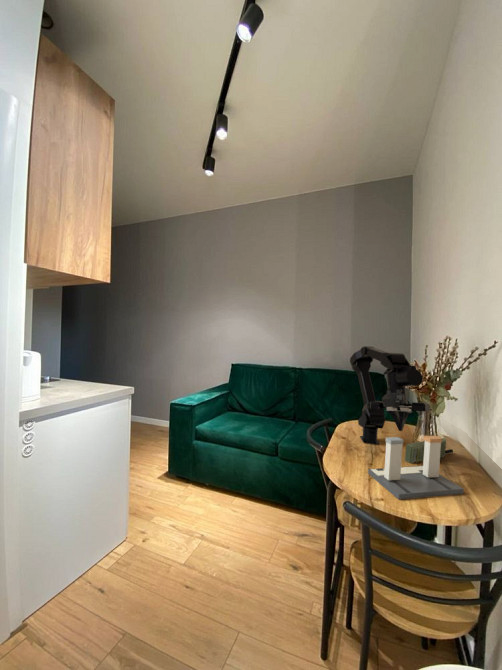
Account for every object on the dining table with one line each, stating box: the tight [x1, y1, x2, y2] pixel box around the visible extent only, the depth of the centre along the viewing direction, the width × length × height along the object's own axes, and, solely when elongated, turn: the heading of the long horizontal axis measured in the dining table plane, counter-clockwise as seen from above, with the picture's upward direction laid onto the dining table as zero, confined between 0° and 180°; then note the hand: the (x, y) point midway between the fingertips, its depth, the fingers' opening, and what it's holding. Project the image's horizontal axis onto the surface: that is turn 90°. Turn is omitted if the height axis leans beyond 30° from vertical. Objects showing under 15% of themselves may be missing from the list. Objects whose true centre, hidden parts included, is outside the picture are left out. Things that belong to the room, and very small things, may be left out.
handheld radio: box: [404, 437, 454, 464], centre depth 102 cm, size 7×3×25 cm
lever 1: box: [384, 436, 404, 480], centre depth 82 cm, size 2×4×12 cm, turn 102°
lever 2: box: [422, 435, 443, 478], centre depth 85 cm, size 2×4×12 cm, turn 102°
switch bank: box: [367, 465, 465, 500], centre depth 84 cm, size 14×22×2 cm, turn 102°
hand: (400, 430), depth 96 cm, fingers closed
